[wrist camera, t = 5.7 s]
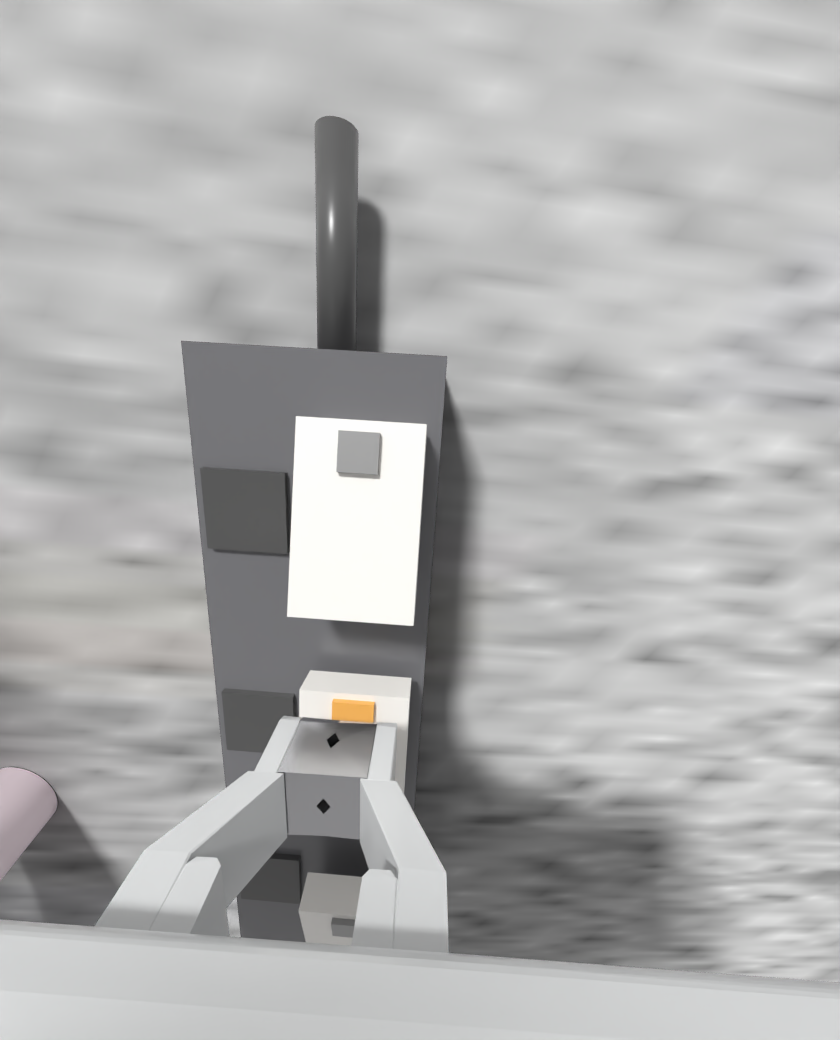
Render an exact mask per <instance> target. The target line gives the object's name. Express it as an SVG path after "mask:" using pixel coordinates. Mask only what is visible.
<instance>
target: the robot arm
mask: <svg viewBox="0 0 840 1040" xmlns="http://www.w3.org/2000/svg"><path fill="white" fill-rule="evenodd" d="M396 750H397V723H383V722H363V721H345V720H329V719H319V718H308V717H303V718H302V717H292V716H283V717H282V718H281V719H280V720H279V722H278V724H277V726H276V728H275V730H274V732H273V734H272V736H271V738H270V740H269V742H268V744H267V746H266V748H265V750H264V752H263V754H262V756H261V758H260V760H259V762H258V764H257V766H256V768H255V770H254V771H247V772H246V773H245V774H243V775H242V776H241V777H239V778H238V779H237V780H236V781H234V782H233V783H232V784H230V785H229V786H228V787H226V788H225V789H224V790H222V791H221V792H220V793H219V794H217V795H216V796H215V797H213V798H212V799H211V800H209V801H208V802H207V803H205V804H204V805H203V806H202V807H200V808H199V809H198V810H196V811H195V812H194V813H192V814H191V815H190V816H188V817H187V818H186V819H184V820H183V821H182V822H181V823H179V824H178V825H177V826H175V827H174V828H173V829H171V830H170V831H169V832H167V833H166V834H165V835H164V836H162V837H161V838H160V839H158V840H157V841H156V842H154V843H153V844H152V845H150V846H149V847H148V848H147V849H145V850H144V852H143V853H142V855H141V856H140V858H139V859H138V861H137V862H136V864H135V865H134V867H133V868H132V870H131V871H130V873H129V874H128V876H127V877H126V879H125V880H124V882H123V883H122V885H121V887H120V888H119V890H118V891H117V893H116V894H115V896H114V897H113V899H112V900H111V902H110V903H109V905H108V906H107V908H106V909H105V911H104V912H103V914H102V915H101V917H100V918H99V920H98V921H97V923H96V924H95V926H82V925H68V924H55V923H42V922H29V921H15V920H2V919H0V1040H840V982H829V981H816V980H802V979H789V978H775V977H762V976H749V975H735V974H722V973H709V972H695V971H682V970H669V969H656V968H642V967H629V966H616V965H602V964H589V963H576V962H562V961H549V960H536V959H523V958H509V957H496V956H483V955H469V954H456V953H449V942H448V909H447V876H446V871H445V869H444V867H443V866H442V864H441V862H440V860H439V858H438V856H437V854H436V853H435V851H434V849H433V847H432V845H431V843H430V841H429V840H428V838H427V836H426V834H425V832H424V830H423V828H422V827H421V825H420V823H419V821H418V819H417V817H416V815H415V814H414V812H413V810H412V808H411V806H410V804H409V802H408V801H407V799H406V797H405V795H404V793H403V791H402V789H401V788H400V786H399V784H398V782H397V781H395V769H396ZM287 834H288V835H315V836H330V837H340V838H349V839H359V840H360V844H361V847H362V850H363V853H364V856H365V859H366V862H367V865H368V868H369V870H368V871H367V872H366V873H365V874H364V875H363V876H362V882H361V888H360V894H359V901H358V907H357V913H356V919H355V925H354V931H353V937H352V943H351V946H349V945H335V944H322V943H309V942H295V941H282V940H268V939H255V938H242V937H230V934H229V926H228V918H227V910H226V908H227V907H228V906H229V905H230V904H231V902H232V901H233V900H234V899H235V898H236V897H237V895H238V894H239V893H240V892H241V891H242V890H243V888H244V887H245V886H246V885H247V884H248V883H249V881H250V880H251V879H252V878H253V877H254V876H255V874H256V873H257V872H258V871H259V870H260V869H261V867H262V866H263V865H264V864H265V863H266V862H267V860H268V859H269V858H270V857H271V856H272V855H273V853H274V852H275V851H276V850H277V849H278V848H279V846H280V845H281V844H282V843H283V842H284V841H285V839H286V838H287Z"/></svg>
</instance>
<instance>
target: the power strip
mask: <svg viewBox="0 0 840 1040" xmlns="http://www.w3.org/2000/svg"><path fill="white" fill-rule="evenodd" d="M315 184H316V266H317V348H318V349H314V348H296V347H279V346H262V345H244V344H227V343H210V342H192V341H181V345H182V355H183V365H184V375H185V385H186V395H187V405H188V415H189V425H190V435H191V445H192V455H193V465H194V475H195V485H196V495H197V505H198V515H199V525H200V535H201V545H202V555H203V565H204V574H205V584H206V594H207V604H208V614H209V624H210V634H211V644H212V654H213V664H214V674H215V684H216V694H217V704H218V714H219V724H220V734H221V744H222V754H223V764H224V774H225V784H226V787H228V786H229V785H230V784H232V783H233V782H234V781H236V780H237V779H238V778H239V777H241V776H242V775H243V774H245V773H246V772H247V771H254V770H255V768H256V766H257V764H258V762H259V760H260V758H261V756H262V754H263V752H264V750H265V748H266V746H267V744H268V742H269V740H270V738H271V736H272V734H273V732H274V730H275V728H276V726H277V724H278V722H279V720H280V719H281V718H282V717H283V716H292V717H299V689H300V688H301V686H302V684H303V682H304V680H305V679H306V677H307V675H308V673H309V671H310V670H314V671H328V672H341V673H354V674H367V675H380V676H393V677H406V678H411V693H410V709H409V724H408V740H407V756H406V771H405V787H404V795H405V797H406V799H407V801H408V802H409V804H410V806H411V808H412V810H413V812H414V809H415V795H416V781H417V768H418V754H419V740H420V726H421V712H422V699H423V685H424V671H425V657H426V643H427V629H428V616H429V602H430V588H431V574H432V560H433V546H434V533H435V519H436V505H437V491H438V477H439V464H440V450H441V436H442V422H443V408H444V394H445V381H446V367H447V356H435V355H417V354H400V353H383V352H365V351H356V293H357V214H358V131H357V129H356V128H355V127H354V125H352V124H351V123H350V122H348V121H347V120H345V119H342V118H340V117H335V116H325V117H322V118H320V119H318V120H317V121H316V123H315ZM296 416H303V417H319V418H335V419H351V420H367V421H383V422H400V423H416V424H427V439H426V454H425V469H424V484H423V499H422V514H421V529H420V545H419V560H418V575H417V590H416V605H415V617H414V625H413V626H407V625H393V624H380V623H366V622H353V621H339V620H325V619H312V618H298V617H287V605H288V583H289V560H290V538H291V515H292V493H293V470H294V447H295V425H296ZM368 870H369V868H368V865H367V862H366V859H365V856H364V853H363V850H362V847H361V844H360V840H359V839H349V838H340V837H330V836H315V835H288V834H287V838H286V839H285V841H284V842H283V843H282V844H281V845H280V846H279V848H278V849H277V850H276V851H275V852H274V853H273V855H272V856H271V857H270V858H269V859H268V860H267V862H266V863H265V864H264V865H263V866H262V867H261V869H260V870H259V871H258V872H257V873H256V874H255V876H254V877H253V878H252V879H251V880H250V881H249V883H248V884H247V885H246V886H245V887H244V888H243V890H242V891H241V892H240V893H239V894H238V895H237V904H238V914H239V924H240V934H241V937H242V938H255V939H268V940H282V941H295V942H306V941H305V937H304V932H303V928H302V924H301V920H300V916H299V911H298V910H299V906H300V902H301V898H302V894H303V890H304V886H305V882H306V877H307V873H308V872H312V873H323V874H335V875H346V876H357V877H362V876H363V875H364V874H365V873H366V872H367V871H368Z"/></svg>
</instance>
